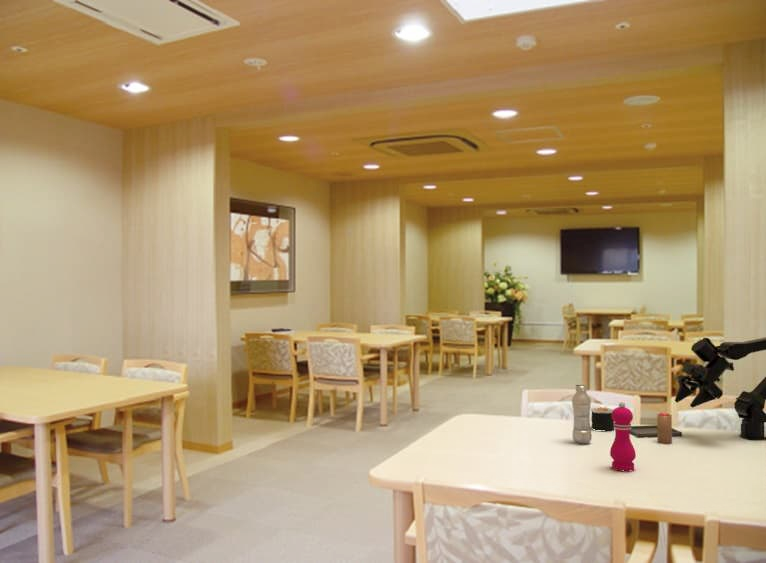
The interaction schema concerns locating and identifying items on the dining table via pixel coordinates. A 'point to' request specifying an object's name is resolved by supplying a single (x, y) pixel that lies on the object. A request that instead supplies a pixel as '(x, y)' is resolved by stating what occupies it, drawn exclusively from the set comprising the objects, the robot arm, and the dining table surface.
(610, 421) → the sushi
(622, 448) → the pepper mill
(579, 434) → the plastic bottle
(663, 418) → the soy sauce bottle
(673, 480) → the dining table surface
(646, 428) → the tray
